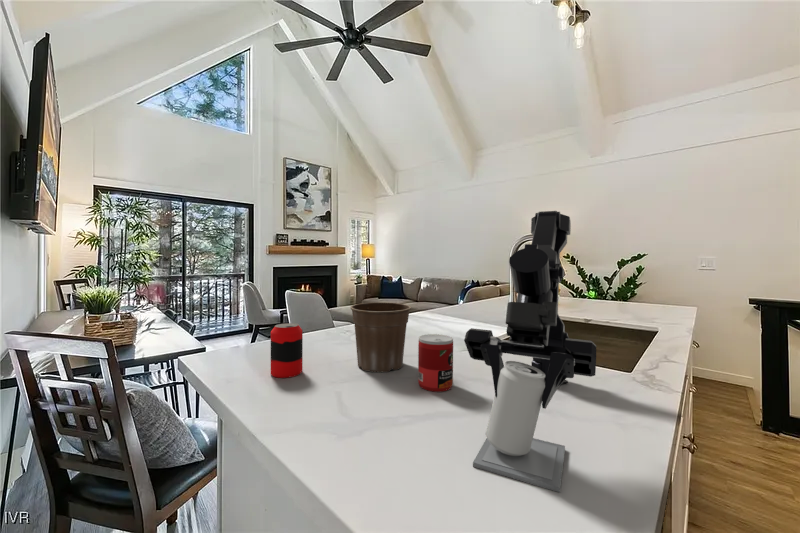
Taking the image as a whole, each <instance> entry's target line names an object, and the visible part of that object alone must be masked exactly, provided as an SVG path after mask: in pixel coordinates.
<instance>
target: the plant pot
mask: <svg viewBox="0 0 800 533" xmlns="http://www.w3.org/2000/svg"><path fill="white" fill-rule="evenodd" d="M350 310H351V311H352V323H354V324H353V325H354V335H355V345H356V358H357V366H358V368H361V369H362V370H363V371H367V372H371V373H388V372H390V371H392V370H394V371H397V370H399V369H401V368H402V367H403V364H404V353H405V352H404V351H405V343H406V342H405V341H406V332H407V324H408V322H409V317H410V310H412V306H410V305H409V304H404V303H397V302H362V303H356V304H353V305H350Z"/></svg>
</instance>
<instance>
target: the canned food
mask: <svg viewBox="0 0 800 533" xmlns="http://www.w3.org/2000/svg"><path fill="white" fill-rule="evenodd" d="M417 348H418V349H417V350H418V352H417V353H418V355H417V356H418V361H417V362H418V365H417V366H418V367H417V368H418V370H417V371H418V374H417V376H418V377H417V381H418V385H419V387H420V388H421V389H423V390H425V391H428V392H435V393H436V392H437V393H440V392H446V391H449V390H451V388H453V384H454V382H453V380H454V378H453V377H454V374H453V373H454V338H453V337H452V336H449V335H445V334H437V333H433V334H432V333H430V334H429V333H428V334H422V335H420V336H419V337H418V347H417Z"/></svg>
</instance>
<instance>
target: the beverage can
mask: <svg viewBox="0 0 800 533" xmlns="http://www.w3.org/2000/svg"><path fill="white" fill-rule="evenodd" d="M544 378H545V373H544V372H542V371H541V370H539V369H538V368H535V367H533V366H532V364H531V365H530V364H528V363H525V362H521V361H516V360H508V361H505V363H504V367H503V368H502V369H501V371H500V375H499V379H498V386H497V397H496V396H495V395H494V396H493V401H492V405H491V409H490V413H489V418H488V423H487V425H486V430H485V437H486V438H487V439H488V440H489V442H490V444H491V445H492V446H493V447H494V448H495V449H497V450H498V451H500V452H502V453H504V454H507V455H511V456H521V455H525V454H527V453H528V452H529V451H530V448H531V444H532V440H533V438H534V436H535V431H536V428H537V422H538V420H539V415H540V413H541V412H540V411H541V408H542V398H543V391H544V389H545V383H546V382H545V380H544Z"/></svg>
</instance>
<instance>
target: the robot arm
mask: <svg viewBox="0 0 800 533" xmlns="http://www.w3.org/2000/svg"><path fill="white" fill-rule="evenodd" d="M530 220H531V221H530V222H531V224H530V226H531V227H530V229H531V230H530V233H531V236H532V240H531V243H527V244H526V243H525V245H524V248H521V249H518V250H517V251H515V252H514V253H513V254H511V256H510V257H509V260H508V263H509V268H510V274H511V278H512V283H513V288H514V291H515V293H517V297H516V301H509V302H507V306H506V314H505V315H506V317H505V324H506V325H507V326H506V331H505V332H506V336H507V337H509V339H508V340H506V339H501V338H499V337H497V336H494V335H493V331H492V330H491V329H482V328H481V329H480V328H470V329H468V330H467V331H466V332H465V336H464V339H463V341H464V344H465V346H466V349H467V352H468V354H469V357H470V358H471V359H472V360H475V361H476V360H477V361H483V362H484V364H485V365H487V366H489V367H490V368H491V374H492V381H493V387H494V388H493V390H494V396H496V397H497V386H498V379H499V375H500V371H501V369H502V368H503V367H504V366H505V363H504V361H503V357H502V356H503V354H508V355H514V356H520V357H527V358H532V360H531V366H533V367H535V368H538V369H539V370H541V371H542V372H544V373H545V378H544V380H545V382H546V383H545V389H544V391H543V398H542V404H541V408H542V409H545V410H546V408H547V407H548V406H549V404H550V402H551V400H552V398H553V396H554V395H555V393H556V392H557V390H558V389H559V387H560V386H561V385H564V384H569V380H567V379H574V378H575V375H576V376H584V377H589V378H590V377H594V376H596V369H597V368H596V367H597V345H596V344H595V342H593V340H587V339H586V340H585V339H577V338H570V336H569V335H568V332H566V331H565V323H564V322H563V319H562V318H561V316H560V315H559V294H560V292H559V289H560V283H561V282H563V279H564V278H565V269H564V268H563V266H562V263H561V262H560V256H561V252H562V251H563V250H564V248H565V247H566V245H568V236H571V230H572V229H571V227H572V226H571V217H570V215H567V214H566V215H565V214H563V213H561V211H557V210H547V211H546V210H545V211H538V212H535V215H534V217H533V216H532V217H531V219H530Z"/></svg>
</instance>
